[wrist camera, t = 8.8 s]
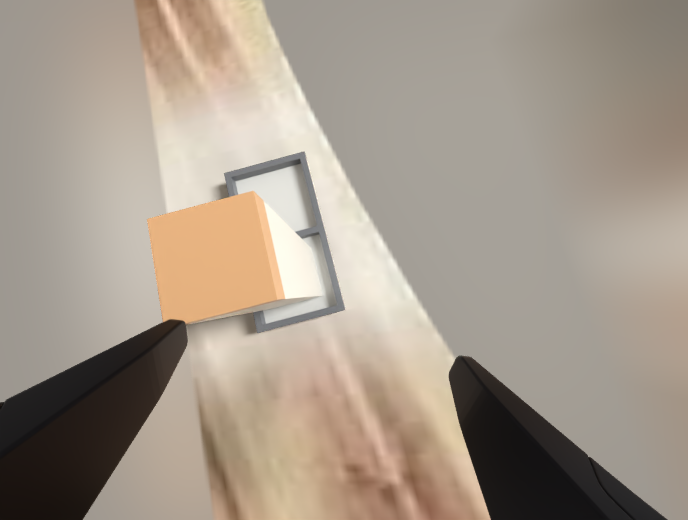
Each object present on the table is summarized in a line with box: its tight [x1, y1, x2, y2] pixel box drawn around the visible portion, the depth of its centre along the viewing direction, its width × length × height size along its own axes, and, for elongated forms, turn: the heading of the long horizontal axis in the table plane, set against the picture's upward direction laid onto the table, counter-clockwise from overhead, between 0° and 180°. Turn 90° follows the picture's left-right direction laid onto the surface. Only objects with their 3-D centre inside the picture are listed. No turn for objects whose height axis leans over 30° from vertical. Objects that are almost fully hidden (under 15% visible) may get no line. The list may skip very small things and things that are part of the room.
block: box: [147, 191, 323, 325], centre depth 15 cm, size 4×4×12 cm
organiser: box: [224, 152, 346, 333], centre depth 21 cm, size 14×7×2 cm, turn 15°
